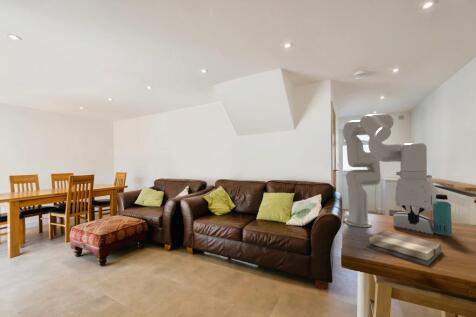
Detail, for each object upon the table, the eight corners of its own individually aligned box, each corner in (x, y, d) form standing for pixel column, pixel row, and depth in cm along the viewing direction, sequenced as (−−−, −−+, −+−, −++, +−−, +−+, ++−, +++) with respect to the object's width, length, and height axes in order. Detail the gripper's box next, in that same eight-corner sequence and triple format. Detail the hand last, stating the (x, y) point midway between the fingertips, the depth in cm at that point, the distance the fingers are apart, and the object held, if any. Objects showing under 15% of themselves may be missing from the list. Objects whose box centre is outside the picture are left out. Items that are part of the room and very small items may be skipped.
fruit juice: (419, 226, 112) (417, 175, 112) (414, 221, 120) (412, 174, 120) (442, 229, 107) (440, 175, 108) (435, 223, 116) (433, 174, 116)
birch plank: (369, 243, 89) (369, 237, 89) (377, 239, 93) (377, 234, 93) (427, 260, 73) (427, 253, 73) (433, 255, 77) (433, 248, 77)
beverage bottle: (449, 234, 99) (447, 193, 100) (455, 239, 93) (454, 195, 94) (431, 232, 102) (429, 193, 103) (436, 237, 96) (435, 195, 97)
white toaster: (436, 232, 103) (433, 214, 101) (433, 237, 101) (430, 219, 99) (396, 224, 117) (393, 208, 115) (393, 228, 115) (390, 212, 113)
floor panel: (366, 246, 88) (366, 239, 88) (384, 237, 98) (383, 230, 98) (427, 265, 72) (427, 256, 72) (441, 251, 82) (441, 243, 82)
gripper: (386, 175, 81) (386, 220, 82) (437, 178, 69) (437, 231, 69) (393, 173, 85) (394, 216, 86) (443, 176, 73) (443, 227, 74)
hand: (413, 223), depth 78 cm, fingers closed
